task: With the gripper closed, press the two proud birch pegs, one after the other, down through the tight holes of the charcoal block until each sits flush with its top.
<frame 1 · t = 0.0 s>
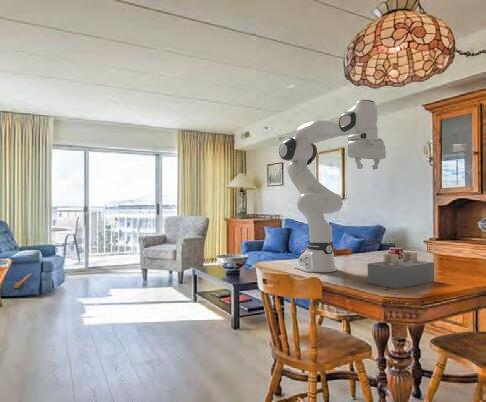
hand: (367, 169, 166), 48 cm above the table, fingers open, 8 cm apart
peg a: (391, 263, 157), point 9 cm above the table, slide at 4.0 cm
block: (401, 282, 160), on the table
soda can: (396, 273, 180), on the table
peg b: (410, 260, 163), point 9 cm above the table, slide at 4.0 cm
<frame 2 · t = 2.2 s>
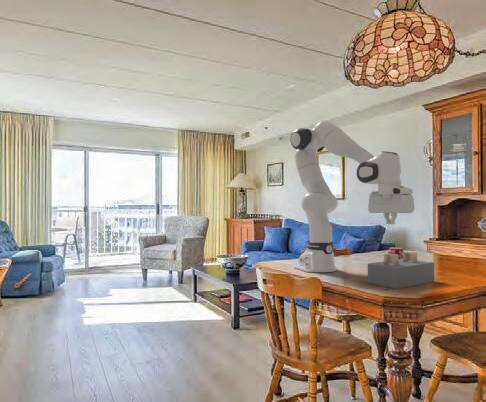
hand: (390, 224, 157), 24 cm above the table, fingers closed
nothing on the table moved.
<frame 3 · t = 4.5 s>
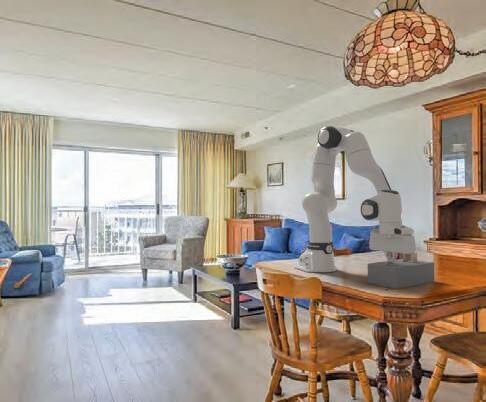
hand: (391, 263, 157), 9 cm above the table, fingers closed, pressing on peg a
peg a: (391, 271, 157), point 5 cm above the table, slide at 0.5 cm, touching gripper
everything else where it was.
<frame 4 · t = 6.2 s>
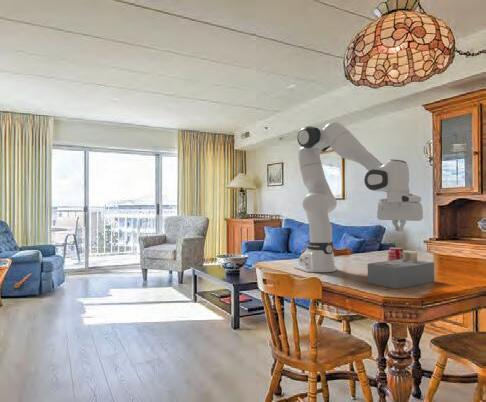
hand: (399, 231, 160), 21 cm above the table, fingers closed
peg a: (391, 272, 157), point 5 cm above the table, slide at 0.3 cm
everything else where it was.
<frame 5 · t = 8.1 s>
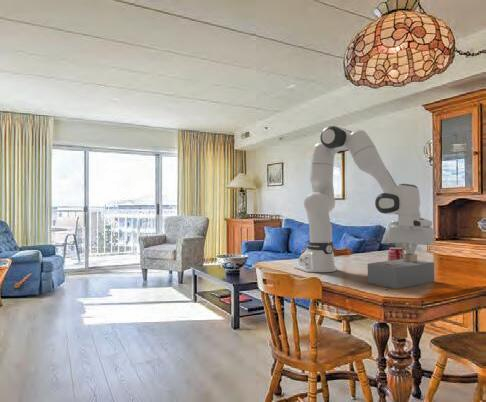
hand: (410, 254, 163), 11 cm above the table, fingers closed, pressing on peg b
peg b: (410, 262, 163), point 8 cm above the table, slide at 3.1 cm, touching gripper
everything else where it was.
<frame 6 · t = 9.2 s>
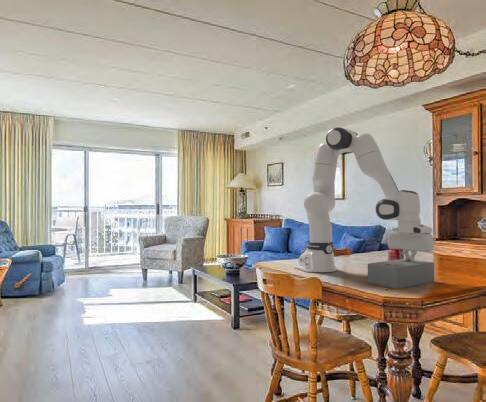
hand: (409, 260, 163), 8 cm above the table, fingers closed
peg b: (410, 269, 163), point 5 cm above the table, slide at 0.3 cm
everything else where it was.
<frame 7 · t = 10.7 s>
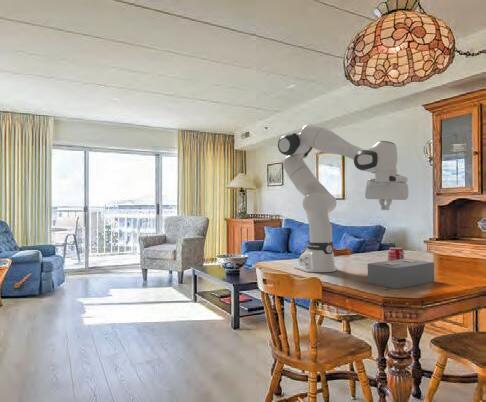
hand: (385, 210, 167), 30 cm above the table, fingers closed
nothing on the table moved.
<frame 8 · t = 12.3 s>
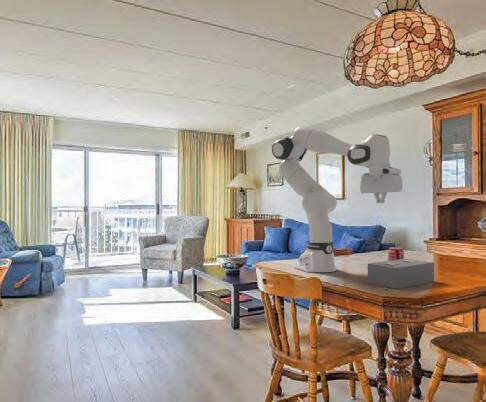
hand: (380, 203, 168), 33 cm above the table, fingers closed
nothing on the table moved.
at the end: peg a slide at 0.3 cm; peg b slide at 0.3 cm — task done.
